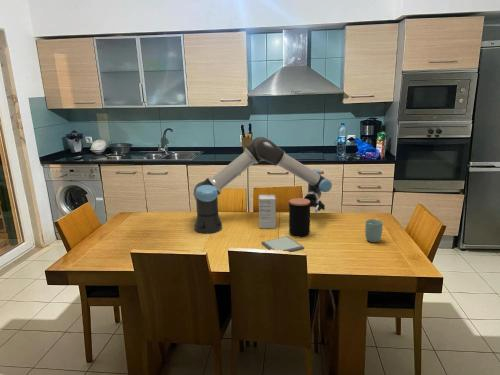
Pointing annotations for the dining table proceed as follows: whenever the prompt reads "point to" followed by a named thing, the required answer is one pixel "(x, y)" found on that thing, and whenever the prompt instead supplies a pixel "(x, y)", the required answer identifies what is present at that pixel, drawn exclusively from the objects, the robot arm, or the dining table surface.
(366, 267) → the dining table surface
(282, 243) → the mat
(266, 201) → the supplement box
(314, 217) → the dining table surface
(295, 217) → the coffee jar
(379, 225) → the cup
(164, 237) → the dining table surface
